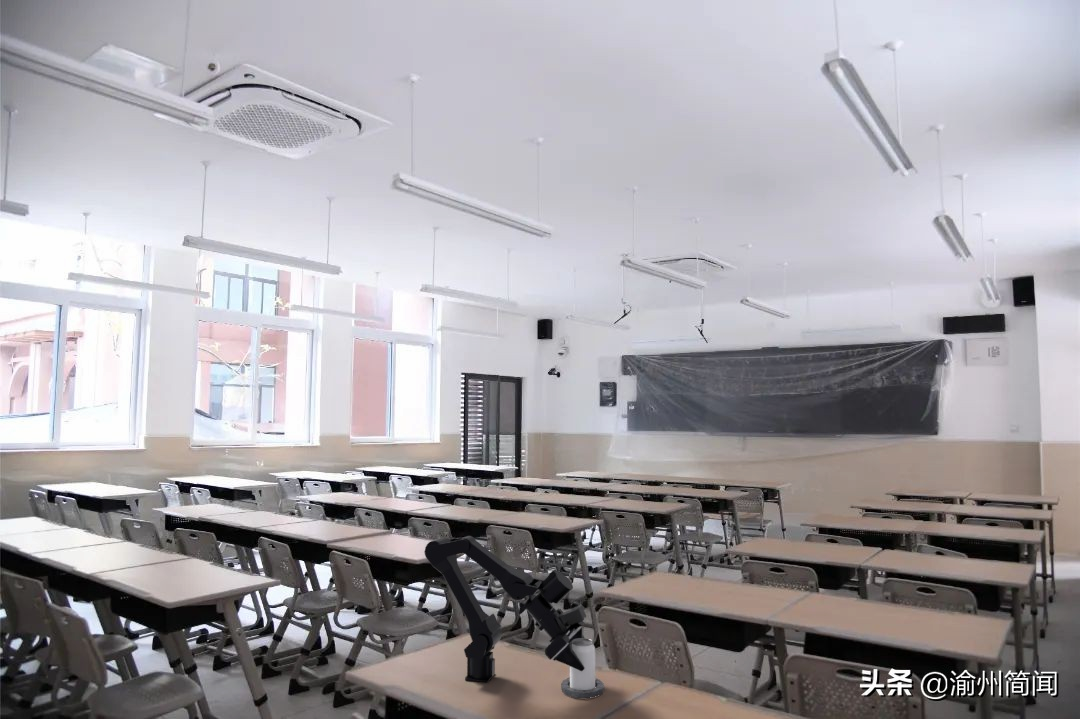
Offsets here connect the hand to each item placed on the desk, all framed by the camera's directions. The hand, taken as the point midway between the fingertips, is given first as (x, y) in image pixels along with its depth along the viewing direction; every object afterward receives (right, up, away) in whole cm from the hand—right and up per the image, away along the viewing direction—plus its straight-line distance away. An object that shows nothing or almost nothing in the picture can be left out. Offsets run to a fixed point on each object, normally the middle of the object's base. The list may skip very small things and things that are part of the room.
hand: (587, 663), depth 175 cm
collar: (-1, -7, 0) cm, 7 cm away
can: (-1, -7, 0) cm, 7 cm away
